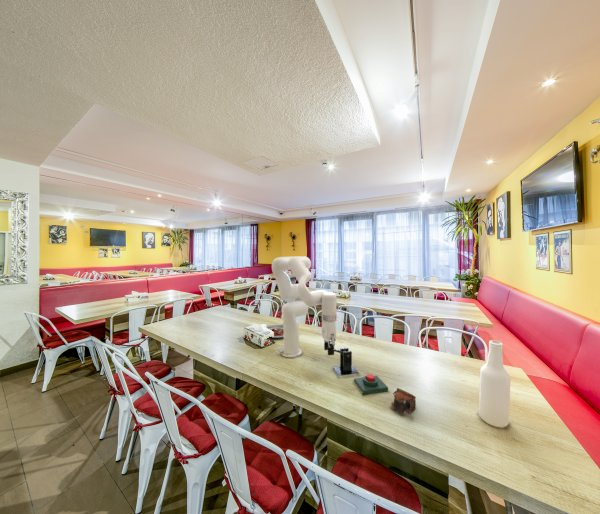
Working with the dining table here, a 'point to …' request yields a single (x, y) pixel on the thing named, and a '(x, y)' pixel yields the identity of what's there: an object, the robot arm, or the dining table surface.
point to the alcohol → (494, 388)
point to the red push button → (370, 377)
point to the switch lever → (337, 350)
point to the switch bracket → (345, 363)
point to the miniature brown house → (399, 402)
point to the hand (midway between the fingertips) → (329, 351)
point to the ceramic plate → (277, 330)
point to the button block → (371, 385)
